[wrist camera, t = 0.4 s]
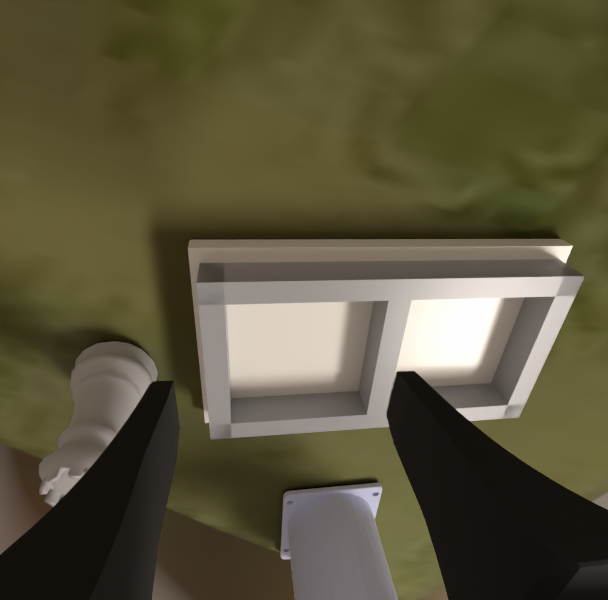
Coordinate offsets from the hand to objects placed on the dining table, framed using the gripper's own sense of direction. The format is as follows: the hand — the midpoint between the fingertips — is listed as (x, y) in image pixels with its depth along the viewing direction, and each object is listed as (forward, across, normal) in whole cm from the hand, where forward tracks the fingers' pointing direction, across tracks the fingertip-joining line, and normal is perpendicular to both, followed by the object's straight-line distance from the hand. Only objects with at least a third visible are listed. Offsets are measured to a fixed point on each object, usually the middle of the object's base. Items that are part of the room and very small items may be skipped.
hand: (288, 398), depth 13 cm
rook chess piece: (+10, +9, +7) cm, 15 cm away
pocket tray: (+10, -6, +4) cm, 13 cm away
